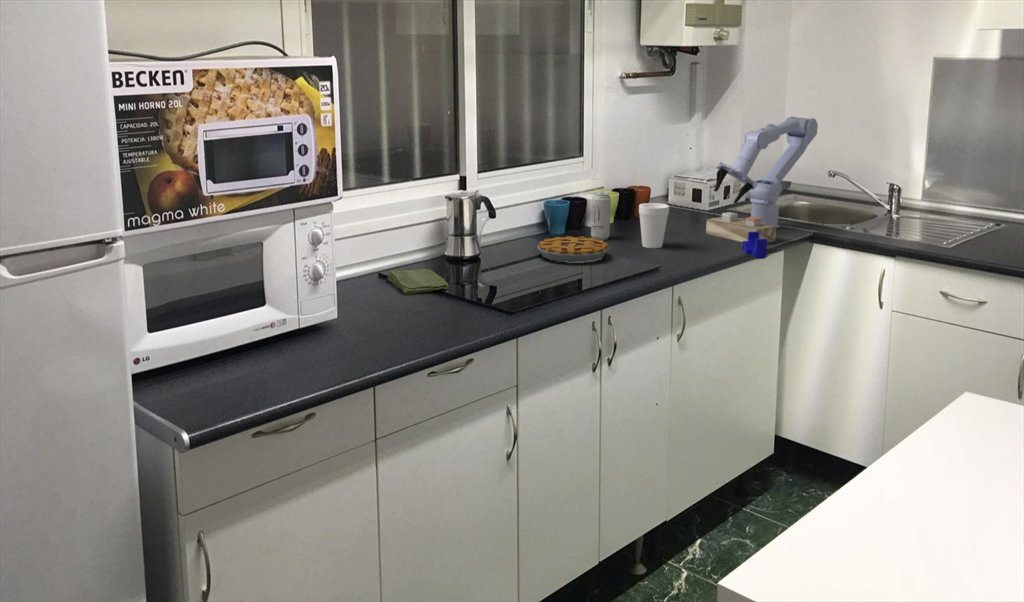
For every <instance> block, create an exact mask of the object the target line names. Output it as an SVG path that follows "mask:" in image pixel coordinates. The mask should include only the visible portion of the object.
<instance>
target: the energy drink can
mask: <svg viewBox="0 0 1024 602" xmlns="http://www.w3.org/2000/svg"><path fill="white" fill-rule="evenodd" d="M590 225H591V226H590V227H591V228H590V236H591V237H592V238H595V239H596V240H603V241H605V240H608V238H609V237H610V231H611V230H610V227H611V197H610V193H609V192H605V191H596V192H594V193H593V196H592V198H591V224H590Z"/></svg>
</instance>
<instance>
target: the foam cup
mask: <svg viewBox="0 0 1024 602" xmlns="http://www.w3.org/2000/svg"><path fill="white" fill-rule="evenodd" d="M638 213H639V223H640V235H641V236H640V237H641V244H642V247H644V248H647V249H659V248H662V247H663V243H664V238H665V232H666V228H667V227H666V225H667V221H668V216H669V213H670V205H668V204H666V203H659V202H648V203H647V202H646V203H645V202H644V203H640V204H639V205H638Z"/></svg>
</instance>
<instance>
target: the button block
mask: <svg viewBox="0 0 1024 602" xmlns="http://www.w3.org/2000/svg"><path fill="white" fill-rule="evenodd" d="M745 221H746V219H745V218H744V219H743V218H738V217H737V221H733V222H728V221H723V220H722V216H719V217H712V218H707V219H706V225H705V226H706V227H705V235H709V236H713V237H719V238H723V239H727V240H732V241H735V242H741V243H743V241H748V232H759V239H767V244H768V243H772V242H776V240H777V239H776V237H777V228H776V227H777V226H774V225H769V224H764V223H761V226H757V227H752V226H747V225H745Z"/></svg>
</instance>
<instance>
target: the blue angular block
mask: <svg viewBox="0 0 1024 602" xmlns="http://www.w3.org/2000/svg"><path fill="white" fill-rule="evenodd" d="M767 245H768V243H767V239H759V232H748V241H743V242H742V245H741V250H742V252H744V253H745V254H746V255H752V257H754V259H757V260H758V259H765V260H766V259H767Z"/></svg>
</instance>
